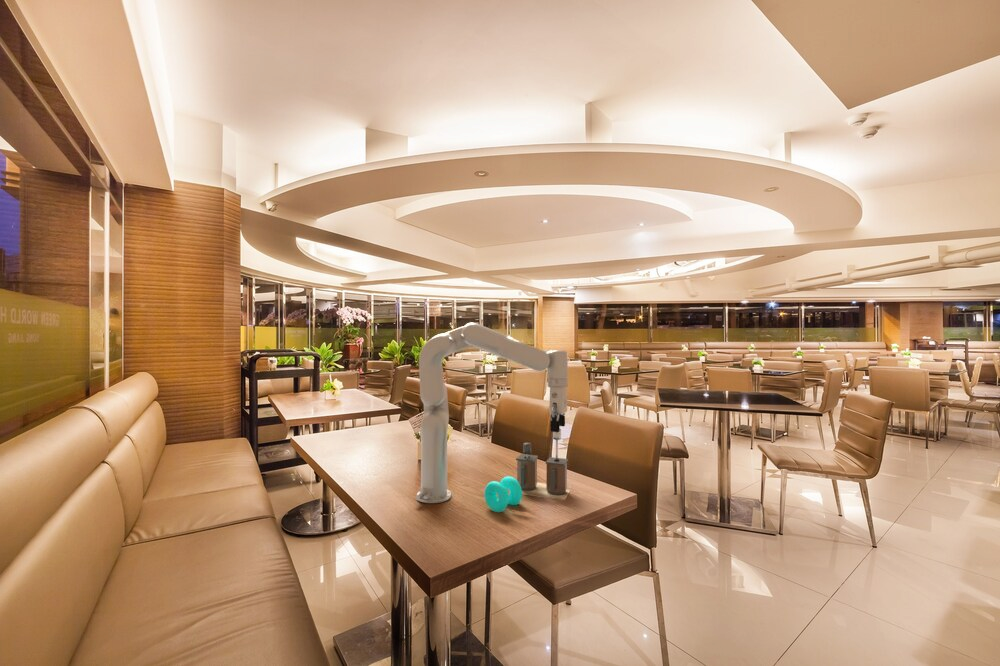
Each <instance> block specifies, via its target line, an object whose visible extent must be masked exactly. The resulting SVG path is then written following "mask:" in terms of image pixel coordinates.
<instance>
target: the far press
mask: <svg viewBox="0 0 1000 666" xmlns="http://www.w3.org/2000/svg"><path fill="white" fill-rule="evenodd" d="M522 447H523V448H522V450H523V451H522V452H523V453H520V454H519V455H518V456H517V457H516V458H515V460H516V463H517V465H516V466H517V467H516V480H517V481H518V482H519V484H520V486H521V489H522V490H523V491H532V490H535V489H536V485H537V482H538V458H539V455H535V454H532V443H531V442H523V445H522Z"/></svg>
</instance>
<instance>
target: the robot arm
mask: <svg viewBox="0 0 1000 666" xmlns="http://www.w3.org/2000/svg"><path fill="white" fill-rule="evenodd" d="M471 347H474V348H476V349H479V350H482V351H484V352H486V353H489V354H491V355H494V356H495V357H499V358H501V359H504V360H508V361H511V362H513V363H516V364H519V365H522V366H524V367H527V368H529V369H531V370H534V371H535V372H536V371H537V372H542V371H546V370H547V375H546V376H547V382H546V383H547V388H549V414H550V431H551V432H552V433H553V432H559V431H560V429H561V427H566V416H565V415H566V413H567V411H568V399H567V398H568V395H567V388H568V385H569V379H568V378H569V377H568V373H569V372H568V371H569V370H568V368H569V367H568V365H569V364H568V362H569V361H568V352H567V351H566V350H563V349H552V350H545V349H544V350H543V349H539V348H536V347H535V346H532V345H531V344H527V343H525V342H522V341H520V340H518V339H515V338H513V337H512V336H510V335H507V334H505V333H503V332H500V331H498V330H494V329H492V328H489V327H487V326H484V325H482V324H480V323H477V322H468V323H466V324H465V325H464V326H460V327H458V328H455V329H453V330H449V331H447V332H444V333H438V334H437V335H434V336H433V337H431V338H430V339H429V340H427V341H426V342H425V344H424V345H423V346H422V348H421V350H420V352H419V357H418V371H419V373H418V374H419V396H420V400H421V402H422V404H423V414H424V415H423V417H422V419H421V421H420V422H421V423H420V427H419V429H420V449H421V450H420V490H419V491H418V492H417V493H416V495H415V497H414V498H415V500H416V501H418V502H420V503H424V504H438V503H444V502H446V501H448V500H449V499H451V497H452V491H450V490H449V489H448V426H449V421H450V415H449V414H450V413H449V412H450V411H449V401H448V399H449V396H448V389H447V385H446V383H444V374H443V373H444V371H443V362H444V359H445V358H446V357H448V356H450V355H452V354H454V353H457V352H460V351H463V350H465V349H467V348H471Z"/></svg>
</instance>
